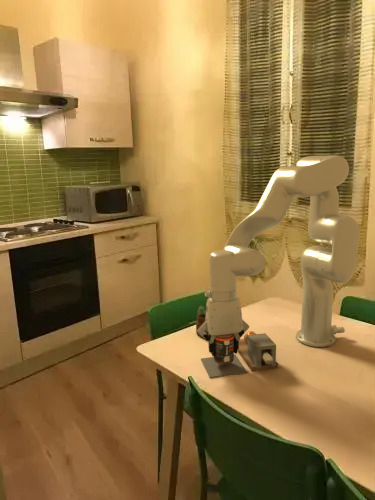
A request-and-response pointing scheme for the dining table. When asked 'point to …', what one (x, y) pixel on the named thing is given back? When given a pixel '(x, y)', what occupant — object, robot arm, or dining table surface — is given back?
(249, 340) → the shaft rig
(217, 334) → the robot arm
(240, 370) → the pad
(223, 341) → the supplement bottle
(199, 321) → the utensil holder
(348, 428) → the dining table surface
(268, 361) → the shaft
